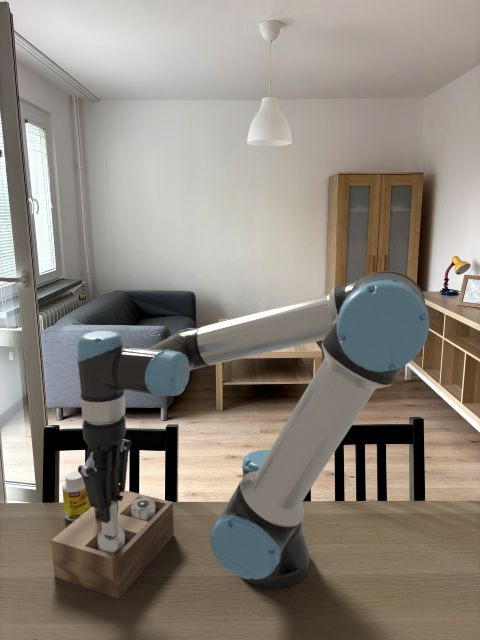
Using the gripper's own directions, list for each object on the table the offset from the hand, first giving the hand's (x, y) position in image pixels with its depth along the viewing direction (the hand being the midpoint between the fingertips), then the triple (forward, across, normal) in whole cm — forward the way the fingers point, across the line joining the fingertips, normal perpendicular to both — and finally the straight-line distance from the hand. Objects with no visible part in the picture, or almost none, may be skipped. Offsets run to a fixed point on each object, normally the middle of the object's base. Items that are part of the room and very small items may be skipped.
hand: (110, 533), depth 96 cm
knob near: (+9, 0, 0) cm, 9 cm away
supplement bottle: (+10, -14, -20) cm, 26 cm away
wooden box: (+9, -6, -3) cm, 11 cm away
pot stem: (+1, -6, -7) cm, 9 cm away
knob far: (+9, -11, 0) cm, 14 cm away
